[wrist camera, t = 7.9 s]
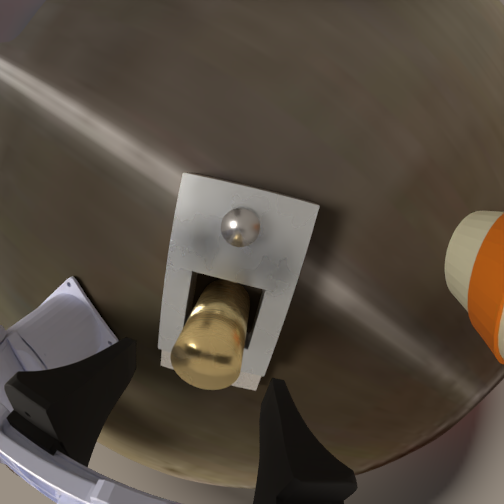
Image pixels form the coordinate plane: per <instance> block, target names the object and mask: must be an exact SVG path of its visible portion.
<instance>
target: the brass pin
mask: <svg viewBox="0 0 504 504" xmlns="http://www.w3.org/2000/svg"><path fill="white" fill-rule="evenodd" d="M249 311H250V297H249V295H248V293H247V291H246V290H245V289H244V288H243V287H242V286H241V285H240V284H238V283H236V282H232V281H228V280H224V279H220V280H216V281H213V282H211V283H210V284H208V285H207V286H206V287H205V289H204V290H203V292H202V294H201V296H200V298H199V300H198V301H197V303H196V305H195V307H194V309H193V311H192V313H191V314H190V316H189V318H188V320H187V322H186V324H185V326H184V328H183V329H182V331H181V333H180V335H179V337H178V339H177V341H176V343H175V345H174V346H173V348H172V351H171V358H170V359H171V364H172V366H173V368H174V370H175V372H176V373H177V374H178V375H179V376H180V377H181V378H182V379H183V380H184V381H186V382H187V383H189V384H191V385H193V386H195V387H198V388H201V389H206V390H218V389H223V388H226V387H228V386H230V385H232V384H233V383H234V382H235V381H236V380H237V379H238V377H239V375H240V371H241V365H242V358H243V351H244V345H245V338H246V331H247V324H248V318H249Z"/></svg>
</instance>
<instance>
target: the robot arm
mask: <svg viewBox="0 0 504 504" xmlns="http://www.w3.org/2000/svg"><path fill="white" fill-rule="evenodd" d="M69 283H70V284H71V285H70V284H69ZM135 370H136V341H135V340H132V339H130V338H127V337H125V338H124V339H122V340H120V341H118V339H117V337H116V336H115V335H114V333H113V332H112V331H111V329H110V328H109V327H108V325H107V324H106V323H105V321H104V320H103V319H102V317H101V316H100V314H99V313H98V312H97V310H96V309H95V307H94V306H93V304H92V303H91V302H90V300H89V299H88V297H87V296H86V294H85V293H84V291H83V289H82V288H81V286H80V285H79V283H78V282H77V280H76V279H75V277H73V276H71V277H70V278H68V279H67V280H66V281H65V282H64V283H63V284H62V285H61V286H60V287H59V288H58V289H57V290H55V291H54V292H53V293H52V294H51V295H50V296H49V297H48V298H47V299H46V300H45V301H44V302H43V303H42V304H41V305H40V306H39V307H38V308H37V309H35V310H34V311H32V312H31V313H29V314H28V315H27V316H25V317H24V318H22V319H21V320H20V321H18V322H17V323H16V324H14V325H13V326H11V327H10V328H9V329H7V330H6V331H5V329H4V327H3V326H2V325H0V463H3V464H6V465H7V466H8V467H10V468H11V469H12V470H13V471H14V472H15V473H17V474H18V475H19V476H20V477H21V478H23V479H24V480H25V481H26V482H28V483H29V484H30V485H32V486H33V487H34V488H36V489H37V490H38V491H40V492H41V493H43V494H44V495H45V496H47V497H48V498H50V499H51V500H52V501H54V502H55V503H57V504H181V503H178V502H174V501H170V500H167V499H164V498H161V497H157V496H154V495H151V494H148V493H145V492H142V491H140V490H137V489H135V488H132V487H129V486H127V485H125V484H122V483H120V482H117V481H115V480H113V479H110V478H108V477H106V476H104V475H102V474H99V473H97V472H96V471H93V470H92V469H89V468H88V463H89V461H90V458H91V454H92V452H93V449H94V446H95V444H96V441H97V439H98V437H99V434H100V432H101V430H102V427H103V425H104V423H105V421H106V419H107V417H108V415H109V413H110V412H111V410H112V409H113V407H114V406H115V404H116V402H117V401H118V399H119V398H120V396H121V395H122V393H123V392H124V390H125V389H126V387H127V386H128V384H129V383H130V381H131V378H132V376H133V374H134V372H135ZM356 489H357V482H356V478H355V475H354V472H353V470H351V469H350V468H348V467H347V466H346V465H344V464H343V463H341V462H340V461H339V460H338V459H336V458H335V457H334V456H333V455H332V454H331V453H330V452H329V451H328V450H327V449H326V448H325V447H324V446H323V445H322V444H321V443H320V442H319V441H318V440H317V439H316V437H315V436H314V435H313V434H312V432H311V431H310V429H309V428H308V427H307V425H306V423H305V422H304V420H303V419H302V417H301V415H300V413H299V412H298V410H297V408H296V406H295V404H294V402H293V400H292V398H291V395H290V393H289V391H288V388H287V386H286V383H285V381H284V380H280V379H275V378H272V379H271V382H270V384H269V387H268V389H267V392H266V394H265V397H264V399H263V401H262V404H261V412H260V459H259V468H258V476H257V483H256V490H255V496H254V502H253V504H344V500H345V499H346V498H348V497H349V496H350V495H352V494H353V493H354V492H355V491H356Z"/></svg>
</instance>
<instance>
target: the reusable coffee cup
mask: <svg viewBox="0 0 504 504" xmlns="http://www.w3.org/2000/svg"><path fill="white" fill-rule="evenodd" d="M445 279H446V283H447V286H448V288H449V290H450V292H451V293H452V294H453V295H454V297H455V298H456V299H457V300H458V301H459V302H460V303H461V305H462V306H463V307H464V308H465V309H466V311H467V312H468V313H469V318H470V321H471V323H472V325H473V327H474V328H475V329H476V331H477V332H478V333H479V335H480V336H481V337H482V339H483V340H484V341H485V343H486V344H487V346H488V347H489V348H490V350H491V351H492V353H493V354H494V356H495V357H496V358H497V360H498V361H499V363H501V364H503V365H504V212H498V211H476V212H473V213H471V214H469V215H468V216H467V217H465V218H464V219H463V220H462V222H461V223H460V224H459V225H458V227H457V228H456V230H455V231H454V233H453V235H452V238H451V240H450V242H449V246H448V249H447V253H446V258H445Z"/></svg>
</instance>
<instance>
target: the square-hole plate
mask: <svg viewBox="0 0 504 504" xmlns="http://www.w3.org/2000/svg"><path fill="white" fill-rule="evenodd" d="M319 207H320V206H319V205H318V204H316V203H314V202H311V201H308V200H304V199H301V198H297V197H293V196H290V195H286V194H282V193H278V192H274V191H271V190H267V189H263V188H259V187H254V186H250V185H246V184H242V183H238V182H233V181H229V180H225V179H220V178H215V177H211V176H206V175H201V174H197V173H183V176H182V180H181V185H180V190H179V195H178V200H177V205H176V211H175V216H174V222H173V228H172V233H171V240H170V246H169V252H168V259H167V266H166V274H165V281H164V289H163V298H162V307H161V317H160V328H159V340H158V349H161V350H162V353H161V366H164V367H167V368H170V369H173V370H174V368H173V366H172V364H171V359H170V358H171V351H172V348H173V346H174V345H175V343H176V341H177V339H178V337H179V335H180V333H181V331H182V329H183V328H184V326H185V324H186V322H187V320H188V318H189V316H190V314H191V310H192V304H193V299H194V293H195V287H196V281H197V276H198V273H201V274H205V275H209V276H213V277H217V278H220V279H224V280H228V281H232V282H236V283H240V284H244V285H248V286H252V287H256V288H260V289H263V291H262V294H261V298H260V301H259V305H258V308H257V312H256V315H255V319H254V322H253V325H252V329H251V332H250V333H248V332H246V338H245V345H244V351H243V358H242V365H241V371H240V375H239V377H238V379H237V380H236V381H235V382H234V383H233V384H232V386H236V387H241V388H245V389H250V390H255V391H256V389H257V386H258V384H259V381H260V378H261V376H264V375H265V373H266V370H267V367H268V365H269V362H270V359H271V357H272V354H273V351H274V348H275V345H276V343H277V340H278V337H279V334H280V331H281V328H282V326H283V323H284V320H285V317H286V314H287V311H288V308H289V305H290V302H291V299H292V296H293V293H294V290H295V287H296V284H297V280H298V277H299V274H300V271H301V268H302V265H303V261H304V258H305V255H306V251H307V248H308V245H309V241H310V238H311V235H312V231H313V228H314V224H315V221H316V217H317V214H318V210H319Z"/></svg>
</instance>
